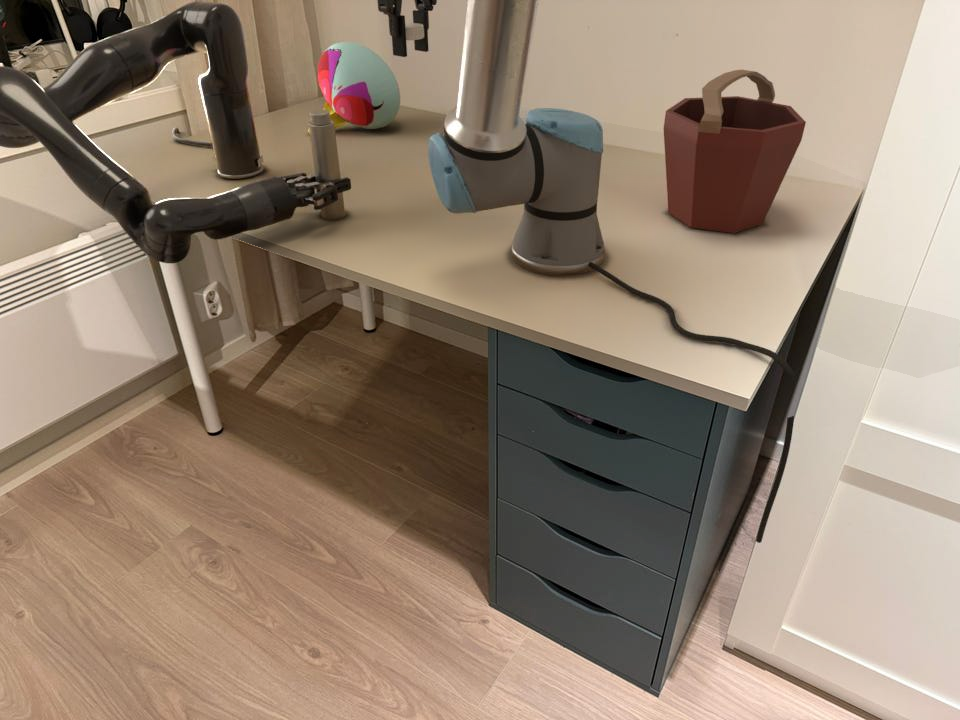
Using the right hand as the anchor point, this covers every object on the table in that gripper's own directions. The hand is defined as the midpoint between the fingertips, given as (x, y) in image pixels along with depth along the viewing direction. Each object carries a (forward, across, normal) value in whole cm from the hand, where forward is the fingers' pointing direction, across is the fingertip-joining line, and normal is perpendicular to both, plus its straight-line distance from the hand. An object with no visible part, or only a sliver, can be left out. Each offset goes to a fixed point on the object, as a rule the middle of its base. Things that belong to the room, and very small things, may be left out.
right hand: (411, 52), depth 126 cm
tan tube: (+27, +17, -6) cm, 32 cm away
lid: (-4, 0, 0) cm, 4 cm away
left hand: (+20, +15, -6) cm, 26 cm away
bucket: (+27, -26, +50) cm, 63 cm away
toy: (+27, -24, -45) cm, 58 cm away
